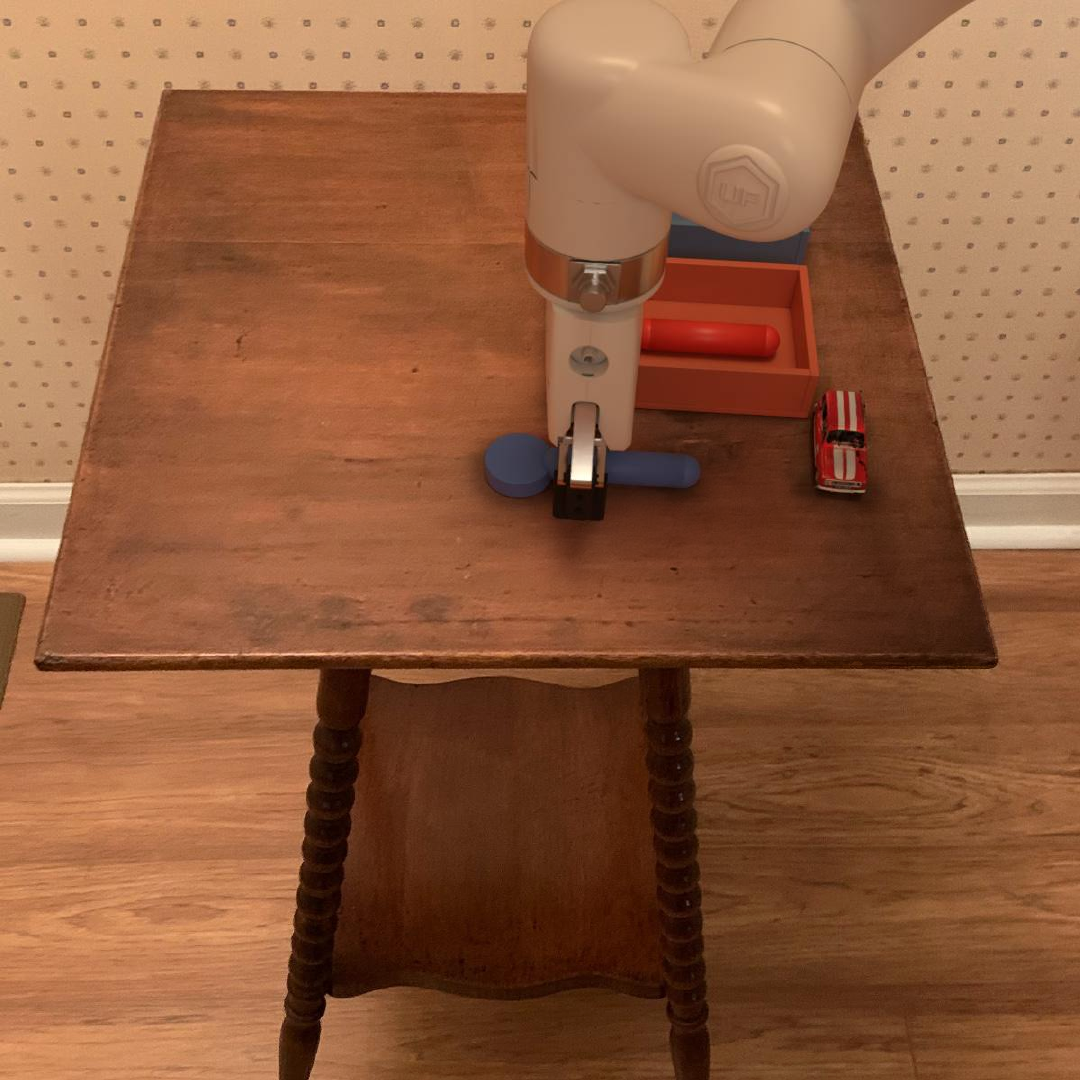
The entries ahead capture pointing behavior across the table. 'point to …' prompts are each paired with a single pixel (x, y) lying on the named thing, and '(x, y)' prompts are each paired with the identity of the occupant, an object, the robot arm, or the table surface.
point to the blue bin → (731, 245)
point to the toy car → (840, 442)
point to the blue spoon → (530, 464)
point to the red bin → (733, 379)
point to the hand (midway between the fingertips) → (581, 467)
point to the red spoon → (709, 337)
